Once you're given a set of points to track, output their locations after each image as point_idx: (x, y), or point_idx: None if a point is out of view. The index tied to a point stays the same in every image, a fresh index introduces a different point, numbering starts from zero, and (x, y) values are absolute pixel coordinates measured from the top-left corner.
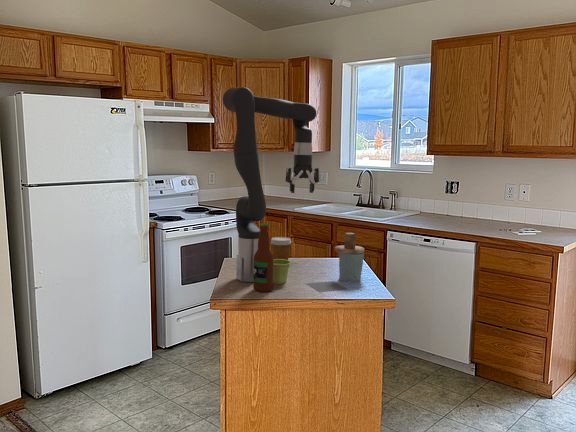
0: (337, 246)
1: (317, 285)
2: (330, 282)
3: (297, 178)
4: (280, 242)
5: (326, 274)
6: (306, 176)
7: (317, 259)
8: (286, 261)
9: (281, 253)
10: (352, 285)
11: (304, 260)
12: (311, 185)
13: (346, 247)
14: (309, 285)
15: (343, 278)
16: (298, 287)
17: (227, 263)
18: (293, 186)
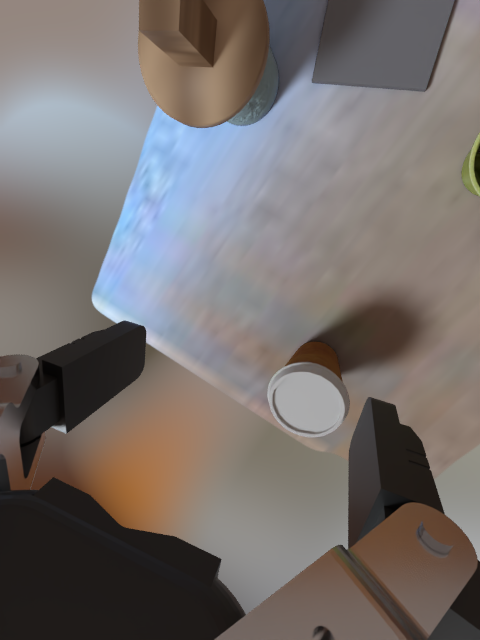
0: (225, 106)
1: (406, 41)
2: (333, 64)
3: (333, 578)
4: (331, 377)
5: (264, 192)
6: (18, 520)
7: (187, 350)
8: (473, 167)
9: (327, 358)
10: (278, 14)
11: (223, 361)
12: (80, 367)
13: (213, 38)
14: (433, 55)
15: (276, 65)
16: (474, 70)
17: (449, 464)
18: (402, 462)
